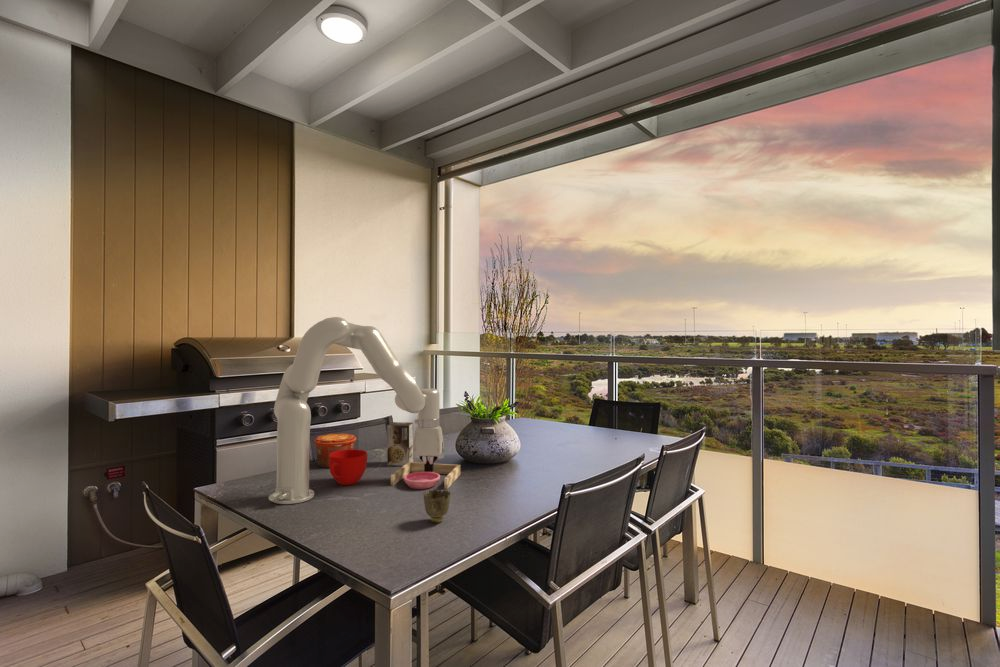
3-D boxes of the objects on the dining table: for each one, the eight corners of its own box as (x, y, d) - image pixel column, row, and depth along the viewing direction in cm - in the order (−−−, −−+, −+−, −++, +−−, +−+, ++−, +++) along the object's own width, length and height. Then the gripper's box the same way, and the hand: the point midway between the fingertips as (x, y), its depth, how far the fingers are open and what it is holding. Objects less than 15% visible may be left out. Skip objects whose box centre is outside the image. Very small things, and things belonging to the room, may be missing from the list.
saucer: (396, 484, 176) (396, 475, 176) (426, 477, 184) (426, 469, 184) (417, 493, 167) (417, 483, 167) (447, 485, 175) (447, 476, 175)
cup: (437, 514, 147) (437, 486, 147) (455, 520, 143) (455, 492, 142) (417, 521, 141) (418, 493, 141) (436, 528, 137) (436, 498, 137)
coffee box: (413, 462, 205) (414, 422, 205) (409, 466, 199) (409, 425, 199) (391, 461, 206) (392, 421, 206) (386, 465, 200) (386, 424, 200)
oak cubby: (447, 489, 171) (447, 478, 171) (390, 485, 174) (390, 475, 174) (460, 474, 189) (460, 464, 189) (408, 471, 192) (408, 461, 192)
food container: (346, 457, 213) (346, 431, 213) (362, 465, 200) (363, 437, 200) (307, 463, 203) (308, 436, 203) (322, 471, 190) (322, 443, 190)
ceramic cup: (313, 489, 169) (314, 459, 169) (341, 475, 185) (341, 448, 185) (349, 493, 166) (349, 462, 166) (373, 478, 182) (374, 450, 182)
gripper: (405, 424, 180) (405, 476, 181) (446, 425, 178) (446, 478, 178) (412, 420, 188) (412, 470, 188) (451, 422, 185) (451, 472, 186)
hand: (429, 474), depth 183 cm, fingers closed
